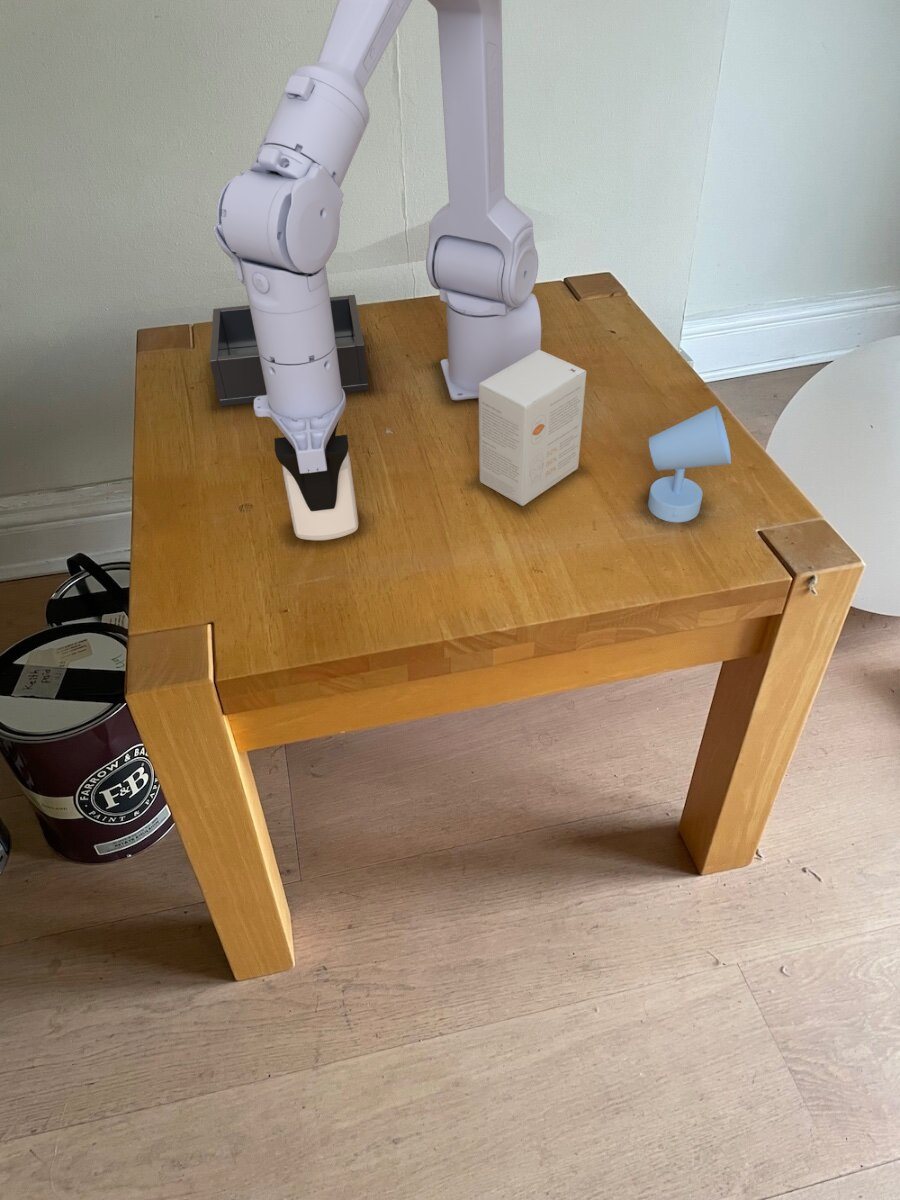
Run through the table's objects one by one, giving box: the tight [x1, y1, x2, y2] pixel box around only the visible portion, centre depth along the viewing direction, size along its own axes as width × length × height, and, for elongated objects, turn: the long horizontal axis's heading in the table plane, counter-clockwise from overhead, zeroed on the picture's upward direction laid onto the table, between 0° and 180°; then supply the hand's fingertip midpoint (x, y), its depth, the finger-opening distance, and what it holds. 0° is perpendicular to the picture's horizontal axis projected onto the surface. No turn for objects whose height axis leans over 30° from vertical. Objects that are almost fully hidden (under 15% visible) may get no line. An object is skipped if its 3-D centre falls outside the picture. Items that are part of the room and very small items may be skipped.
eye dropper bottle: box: [281, 451, 359, 541], centre depth 74 cm, size 4×6×12 cm
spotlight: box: [647, 405, 732, 523], centre depth 75 cm, size 5×10×7 cm
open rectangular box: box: [209, 294, 370, 407], centre depth 96 cm, size 16×12×5 cm
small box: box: [478, 350, 587, 507], centre depth 79 cm, size 8×6×10 cm
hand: (321, 492), depth 75 cm, fingers closed on eye dropper bottle, 3 cm apart
